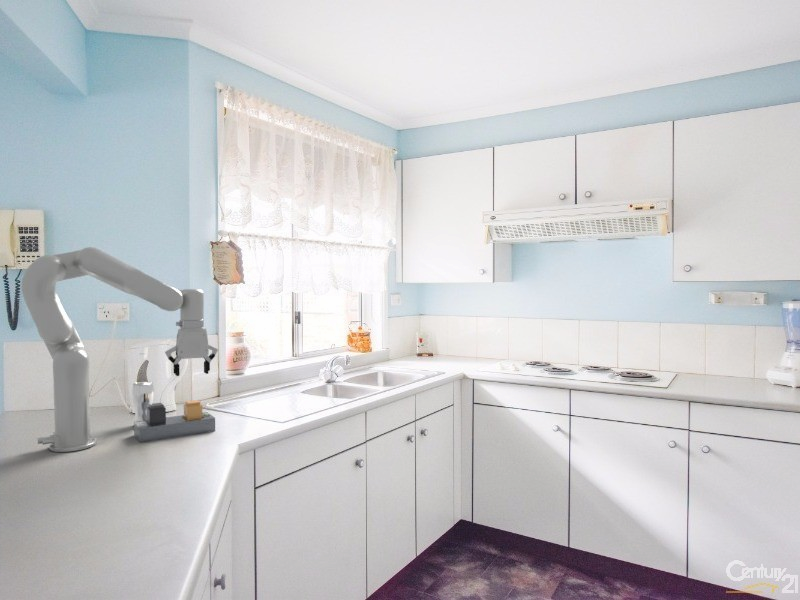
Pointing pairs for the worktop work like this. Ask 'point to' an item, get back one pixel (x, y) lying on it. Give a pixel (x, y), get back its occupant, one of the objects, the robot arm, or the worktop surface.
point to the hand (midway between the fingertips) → (191, 374)
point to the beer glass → (142, 399)
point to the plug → (192, 410)
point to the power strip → (170, 424)
